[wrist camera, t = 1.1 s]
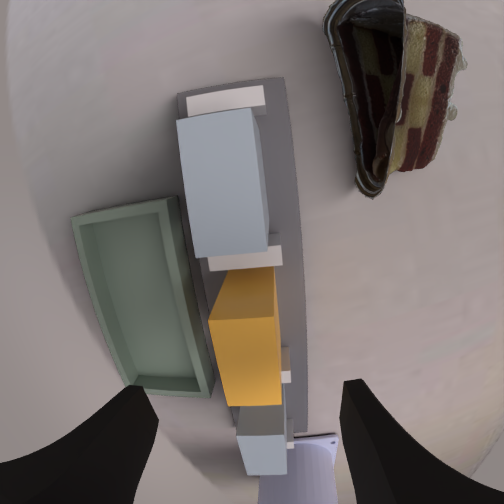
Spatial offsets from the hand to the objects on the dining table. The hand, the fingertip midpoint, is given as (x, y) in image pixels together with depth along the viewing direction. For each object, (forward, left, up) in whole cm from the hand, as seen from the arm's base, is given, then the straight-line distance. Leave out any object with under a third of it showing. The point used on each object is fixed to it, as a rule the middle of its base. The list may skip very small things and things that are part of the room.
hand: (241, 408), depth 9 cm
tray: (0, +7, -10) cm, 12 cm away
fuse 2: (-8, 0, -9) cm, 12 cm away
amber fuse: (0, 0, -9) cm, 9 cm away
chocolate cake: (+12, -10, -10) cm, 19 cm away
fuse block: (0, 0, -10) cm, 10 cm away
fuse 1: (+7, 0, -9) cm, 11 cm away
